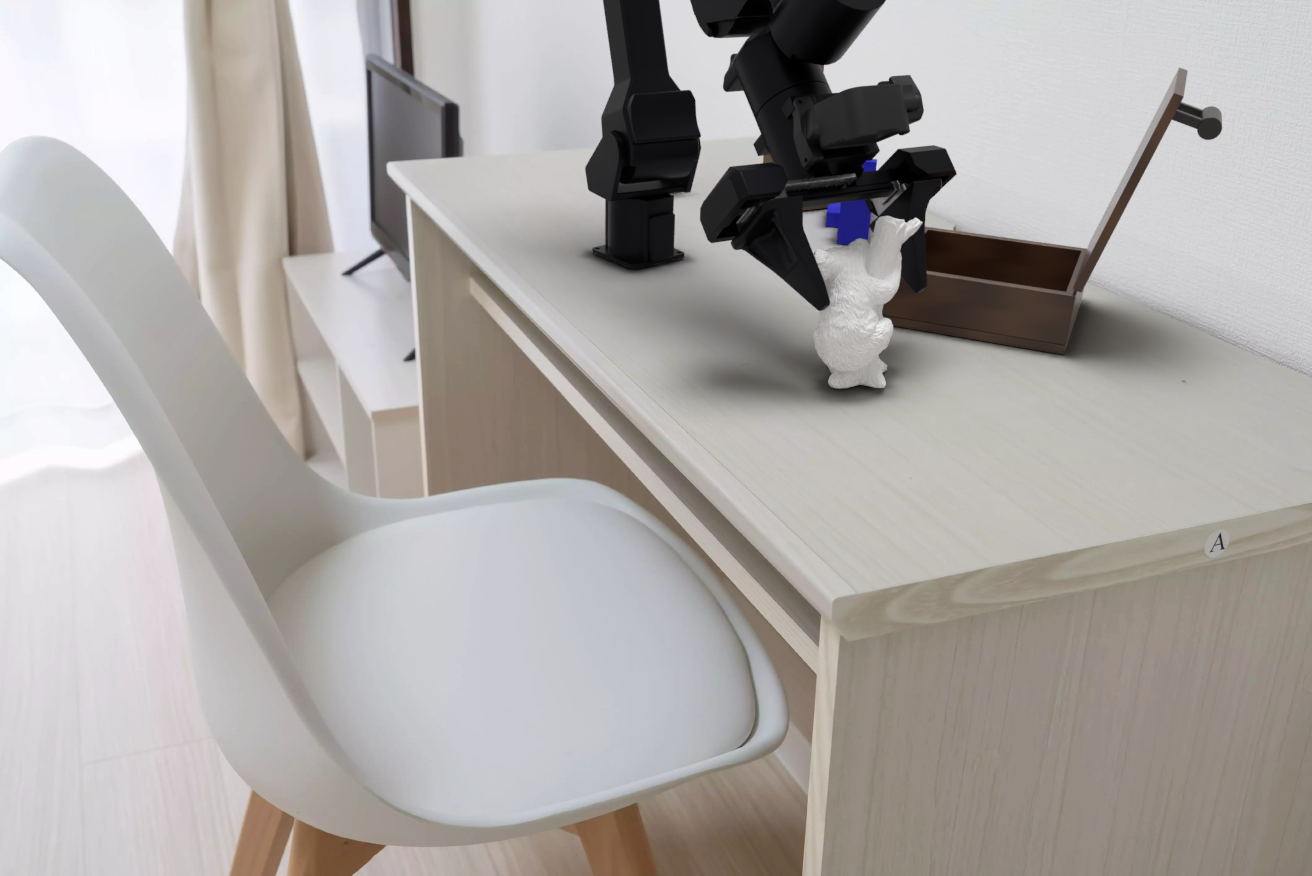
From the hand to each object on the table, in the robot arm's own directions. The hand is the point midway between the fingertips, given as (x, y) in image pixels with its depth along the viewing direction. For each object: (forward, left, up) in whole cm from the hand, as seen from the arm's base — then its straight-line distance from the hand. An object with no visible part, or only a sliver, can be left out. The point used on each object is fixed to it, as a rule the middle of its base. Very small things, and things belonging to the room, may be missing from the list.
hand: (874, 299), depth 77 cm
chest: (-4, +20, -7) cm, 22 cm away
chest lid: (+4, +24, +6) cm, 25 cm away
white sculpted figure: (-1, 0, -7) cm, 7 cm away
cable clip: (-28, +30, -7) cm, 42 cm away
